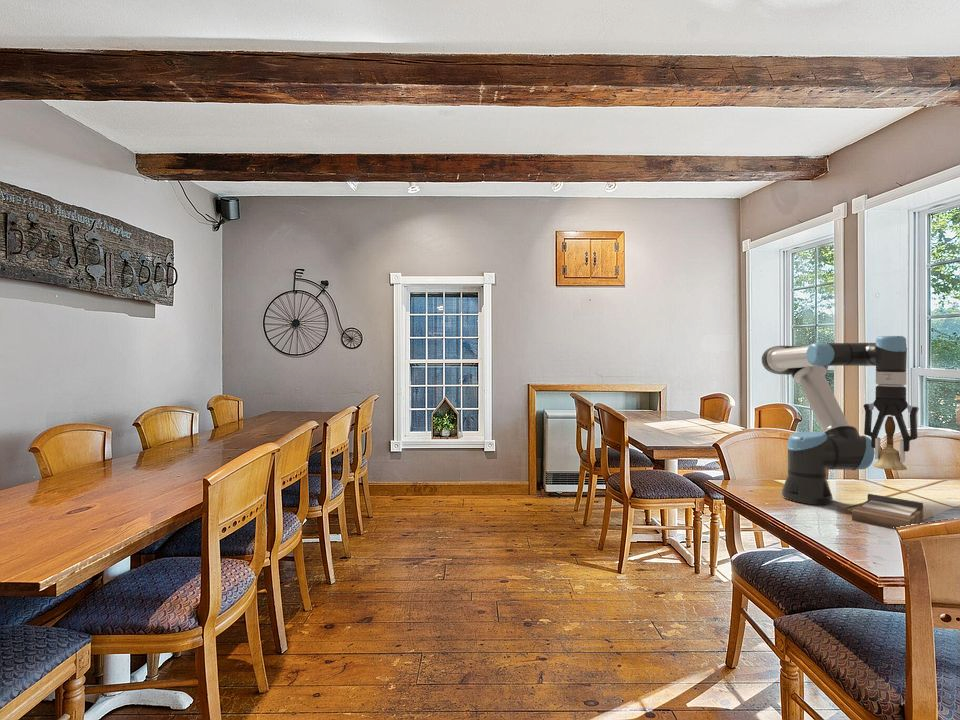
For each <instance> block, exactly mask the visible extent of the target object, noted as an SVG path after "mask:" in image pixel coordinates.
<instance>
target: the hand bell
mask: <svg viewBox="0 0 960 720" xmlns="http://www.w3.org/2000/svg"><path fill="white" fill-rule="evenodd" d="M895 422H896V421H895V420H894V416H891V415H887V417H886V419H885V422H884V430H885V434H886V445H885V446H886V447H885V448H882V449H880V458H879V459H877V461H876V462H875V463H874V464H873V467H874V468H878V469H883V470H889V471H906V470H908V467H907V466H906V465H904V462H900V450H899V449H898V450H897V449H895V448H894V435H895V433H896V432H895V431H896V423H895Z"/></svg>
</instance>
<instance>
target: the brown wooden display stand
mask: <svg viewBox="0 0 960 720" xmlns="http://www.w3.org/2000/svg"><path fill="white" fill-rule="evenodd" d="M922 518H923V519H924V502H922V501H921V502H920V501H913V500H909V499H902V498H896V497H891V496H885V495H879V494H872V493H868V494H867V500H865V502H863V503H861V504H860V505H858V506H856V507H855V508H854V509H852V510H851V521H854V520H855V522H860V523H864V524H870V525H876V526H878V527H879V526H880V527H884V528H890V529H893V527H894V528H896V527H900V526H906V525H911V524H916V523H918V524H919V523H920V522H921V521H922V520H923V519H922ZM921 519H922V520H921ZM919 521H920V522H919Z"/></svg>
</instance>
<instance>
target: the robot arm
mask: <svg viewBox="0 0 960 720" xmlns="http://www.w3.org/2000/svg"><path fill="white" fill-rule="evenodd" d="M907 347H908V346H907V338H906V337H905V336H903V335H881V336H877V337H876V340H875V342H815V343H811V344H810V345H809V344H808V345H807V344H806V345H775V346H772V347H769V348H767V349H766V350H765V351H764V352H763V354H762V356H761V364H762V366H763V367H764V369H765V370H766V371H768V372H769V373H772V374H775V375H787V376H789V375H790V376H791V377H792V378H793V380H794V382H795V383H797V384H800V385H801V387H802V391H803V392H804V394H805V397H806V399H807V401H808V403H809V405H810V408H811V409H812V412H813V414H814V417H815V418H816V421H817V423H818V425H819V428H820V429H821V431H814V430H813V431H810V430H809V431H798V432H795V433H792V434H790V435H789V437H788V440H787V446H786V447H787V475H786V479H785V481H784V484H783V487H782V489H781V496H782V495H783V496H784V497H786V498H788V499H791V500H795V501H798V502H797V503H799V502H802V503H801V504H805V503H808V504H807V505H816V504H819V505H821V506H822V505H830V504H832V503H833V493H832V491H831V489H830V486H829V483H828V480H827V470H829V471H830V470H832V471H833V470H835V471H836V470H837V471H838V470H839V471H841V470H845V471H846V470H848V471H856V470H858V471H859V470H865V469H866V470H867V469H868V468H869V467H870V466H871V465H872V463H873V462H874V459H875V460H879V458H880V454H881V437H878V436H879V434H880V431H881V429H882V425H883V423H884V421H885V418H886V416H892V417H895V420H896V422H897V425H898V429H899V430H900V435H901V437H902V439H901V440H900V442H899V456H900V462H902V463H905V462H906V452H909V451H910V449H911V448H910V445H911V444H910V443H911V441H913V440H916V439H918V420H917V419H918V418H917V414H918V412H919V409H920V408H919V407H918V406H913V405H910V404H909V403H908V401H907V388H906V385H907V360H908V359H907V355H908V354H907V353H908V352H907V351H908V348H907ZM829 366H830V367H834V366H836V367H838V366H844V367H845V366H847V367H848V366H850V367H852V366H854V367H855V366H859V367H860V366H861V367H863V366H864V367H867V366H868V367H869V366H870V367H874V366H875V384H876V386H875V400H874V401H873V402H872V403H865V404H864V405H863V408H864V412H865V414H864V430H863V431H864V432H863V434H864V435H860V433H859V431H858V429H857V428H856V427H855V426H853V425H850V424H849V423H848V421H847V418H846V416H845V415H844V414H845V413H844V411H842V409H841V405H840V404H839V402H838V400H837V398H836V396H835V394H834V393H833V392H834V391H832V389H831V386H830V384H829V381H828V380H827V378H826V375H827V371H828V369H829ZM874 407H875V408H876V411H878V414H877V419H876V421H875V424H874V426H873V429H872V423H873V422H872V419H873V410H874ZM906 409H907V412H908V413H909V429H910V430H909V432H908V429H907V426H906V423H905V420H904V415H903V413H904V411H905V410H906ZM909 433H910V434H909ZM788 499H787V500H788ZM791 500H790V501H791Z"/></svg>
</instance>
